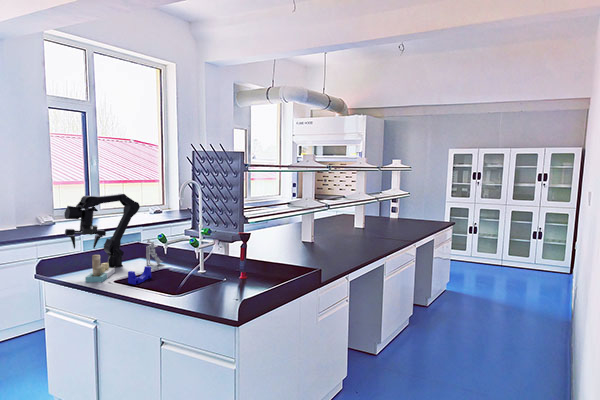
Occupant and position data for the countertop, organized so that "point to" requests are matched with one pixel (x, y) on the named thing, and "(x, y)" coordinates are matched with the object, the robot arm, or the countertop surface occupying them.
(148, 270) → the blue saddle block
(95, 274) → the birch pin
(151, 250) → the clamp
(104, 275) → the pin board
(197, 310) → the countertop surface
